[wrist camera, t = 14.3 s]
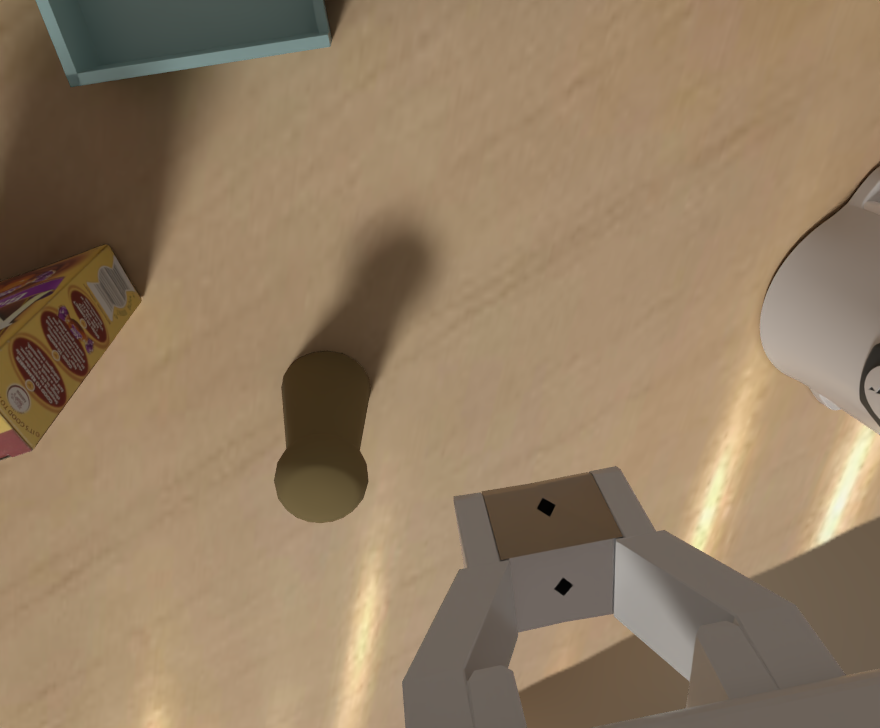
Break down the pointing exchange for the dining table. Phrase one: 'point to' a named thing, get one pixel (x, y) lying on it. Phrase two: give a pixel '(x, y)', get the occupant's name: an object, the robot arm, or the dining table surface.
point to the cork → (323, 437)
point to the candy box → (55, 338)
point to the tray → (176, 34)
